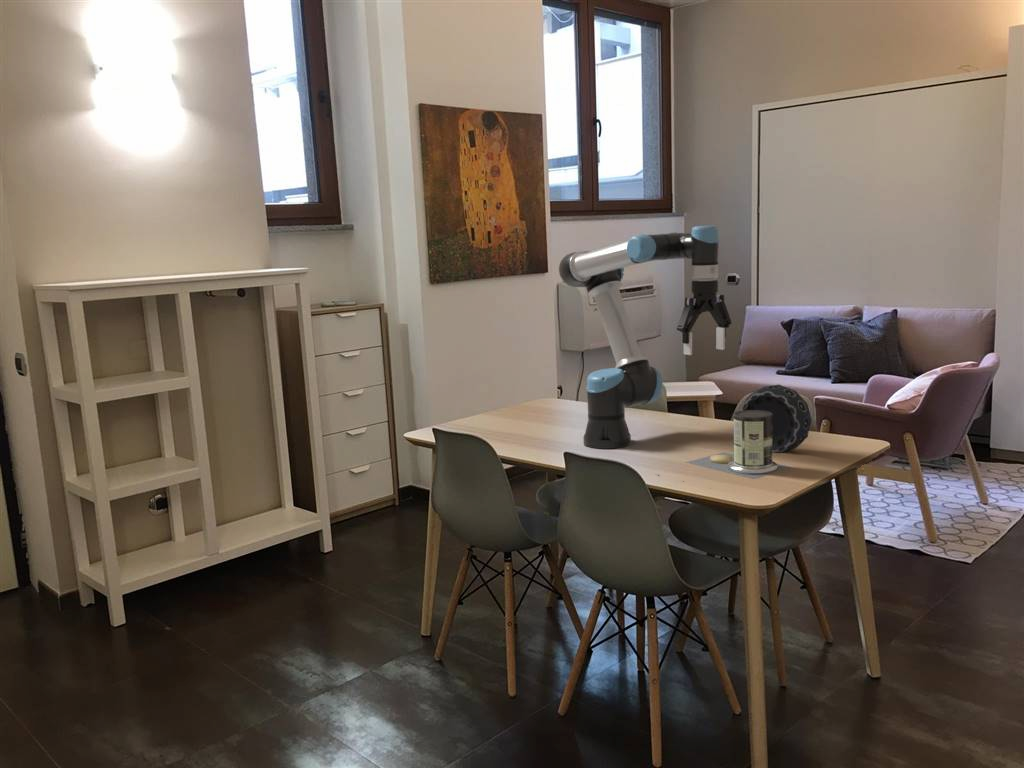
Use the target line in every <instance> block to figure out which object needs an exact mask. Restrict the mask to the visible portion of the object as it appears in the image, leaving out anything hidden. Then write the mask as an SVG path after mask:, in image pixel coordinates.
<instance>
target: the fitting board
mask: <svg viewBox="0 0 1024 768" xmlns="http://www.w3.org/2000/svg"><path fill="white" fill-rule="evenodd" d="M733 460H734V453H730V452H725V451H723V452H719V453H716V454H713V455H709V456H704V457H700V458H697V459H693V460H689V461H685V463H686V464H690V465H694V466H699V467H702V468H706V469H711V470H714V471H719V472H722V473H727V474H732V475H735V476H738V477H739V476H740V477H743V478H747V479H753V480H755V479H759V478H761V477H765V476H768V475H769V476H770V475H773V474H775V473H779V472H782V471H785V470H789V469H792V468H793V467H792V466H789V465H785V464H779V463H776V464H777V471H775V472H772V473H768V474H760V475H750V474H740V473H735V472H732V471H730V470H729V469H728V463H729V462H730V461H733Z"/></svg>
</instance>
